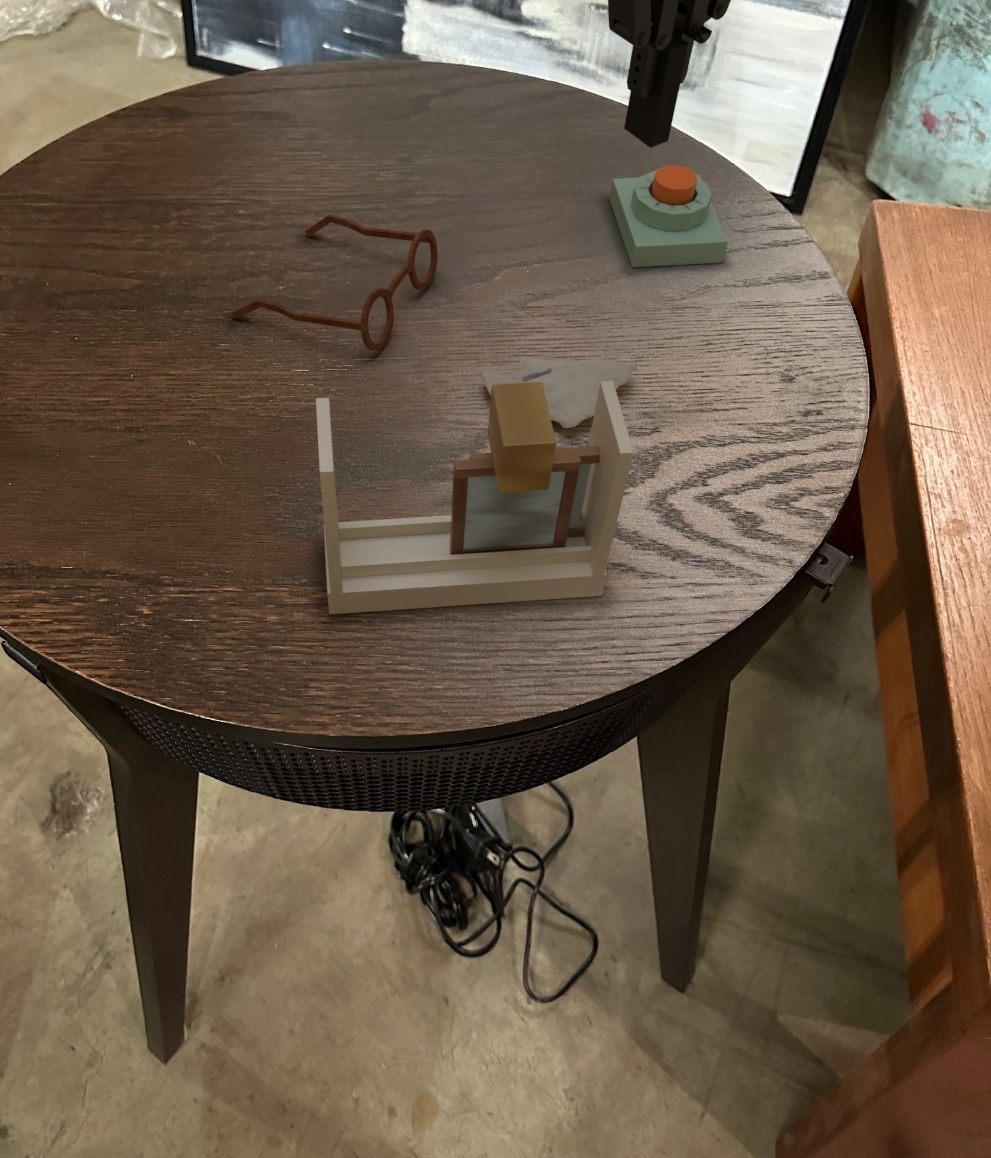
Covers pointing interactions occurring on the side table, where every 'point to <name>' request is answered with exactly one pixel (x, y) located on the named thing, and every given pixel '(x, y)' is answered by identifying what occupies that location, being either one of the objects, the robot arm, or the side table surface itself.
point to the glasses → (384, 293)
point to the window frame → (437, 579)
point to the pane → (514, 480)
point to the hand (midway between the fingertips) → (645, 134)
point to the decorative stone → (566, 384)
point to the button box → (666, 225)
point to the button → (674, 185)
